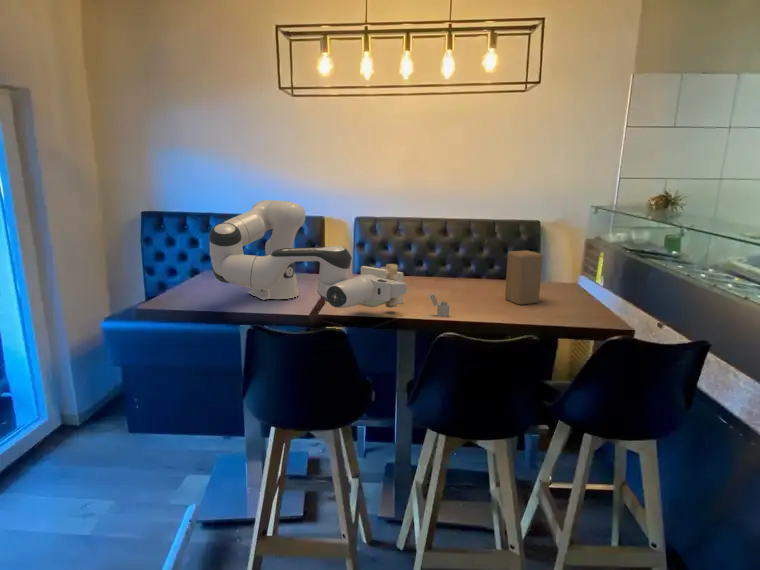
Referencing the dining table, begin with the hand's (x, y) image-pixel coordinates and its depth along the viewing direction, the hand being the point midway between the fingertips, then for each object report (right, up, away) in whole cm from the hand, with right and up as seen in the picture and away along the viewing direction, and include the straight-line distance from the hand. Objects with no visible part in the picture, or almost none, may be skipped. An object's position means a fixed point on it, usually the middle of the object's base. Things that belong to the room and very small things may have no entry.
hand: (393, 281), depth 182 cm
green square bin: (-8, -8, +16) cm, 20 cm away
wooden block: (+52, -8, +24) cm, 58 cm away
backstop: (-11, -10, +14) cm, 20 cm away
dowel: (-1, -9, +1) cm, 9 cm away
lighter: (+17, -13, +3) cm, 21 cm away
